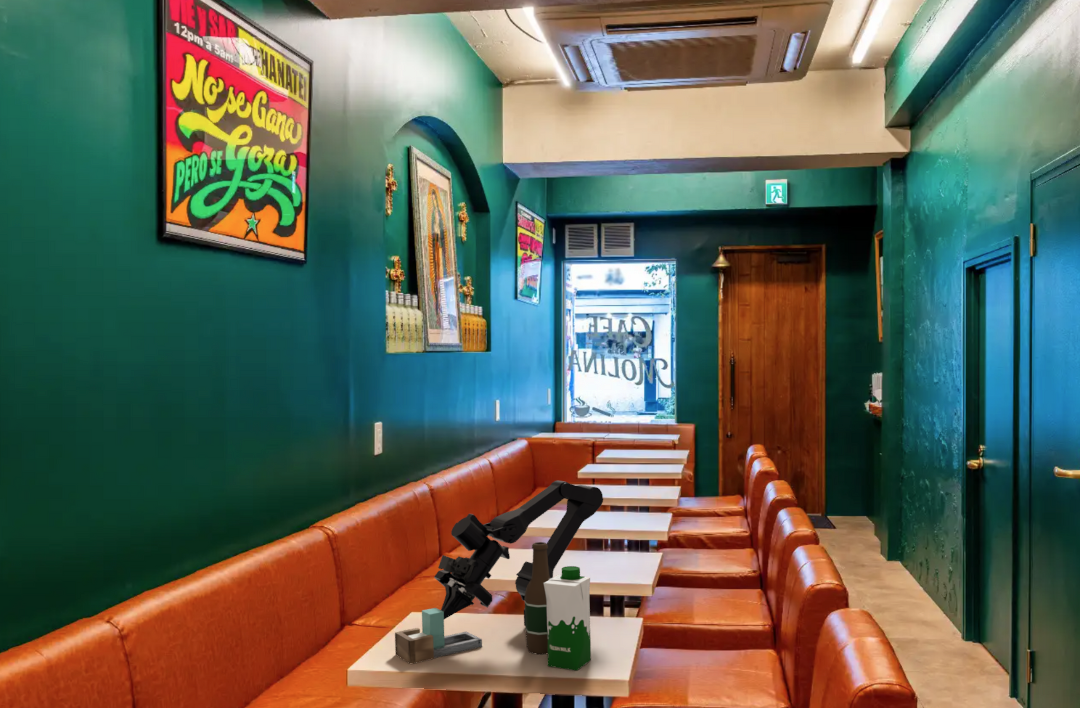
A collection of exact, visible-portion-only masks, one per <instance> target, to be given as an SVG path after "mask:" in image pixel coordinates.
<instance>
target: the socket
mask: <svg viewBox="0 0 1080 708" xmlns="http://www.w3.org/2000/svg"><path fill="white" fill-rule="evenodd" d="M418 633H421V629H420V628H419V627H415V628H410V629H405V630H400V631H394V645H395V655H396V656H397V655H398V656H399V658H400V657H401V658H400V659H402V660H403V659H404V661H405V662H407V663H408V662H409V663H408V664H410V663H413V664H417V663H421V661H422V662H426V661H429V660H433V659H435V658H434V650H433V636H432V635H427V636H423V637H418V638H413V639H412V638H411V637H409V635H413V634H418ZM398 656H397V657H398ZM416 662H417V663H416Z"/></svg>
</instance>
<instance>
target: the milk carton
mask: <svg viewBox="0 0 1080 708" xmlns="http://www.w3.org/2000/svg"><path fill="white" fill-rule="evenodd" d="M590 587H591V577H587V576H582V575H581V568H580V567H579V566H574V565H571V566H570V565H569V566H568V565H567V566H563V567H562V568H561V574H558V575H556V576H553V578H551V579H549V580H548V581H547V582H545V583H544V588H545V594H546V600H547V634H548V654H547V667H551V668H557V669H562V670H563V669H565V670H569V671H570V670H571V671H579V670H580V669H582V667H584V666H585V665H586V664H588V663H589V662H591V659H592V658H591V653H592V652H591V649H592V647H591V646H592V642H591V641H592V640H591V639H592V638H591V612H590V611H591V609H590V593H591V592H590Z"/></svg>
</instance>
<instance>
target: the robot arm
mask: <svg viewBox="0 0 1080 708" xmlns="http://www.w3.org/2000/svg"><path fill="white" fill-rule="evenodd" d="M563 500H566V510H565V511H566V512H565V513H564V515H563V517H562V518H561V520H560V522H558V525H557V526H556V528H555V529H554V531H553V533H552V534H551V536H550V537H549V539H548V540H547V542H546V544H547V546H548V549H547V557H548V569H549V575H550V579H551V578H553V577H554V570H555V568H556V567H557V565H558V564H559V562H560V560H561V559H562V557H563V556H564V554H565V552H566V550H567V549H568V547H569V545H570V544H571V542H572V541H573V539H574V537H575V536H576V534H577V532H578V530H579V529H580V527H581V526H582V524H583V523H584V522H585V521H586V520H588V519H589V518H591V517H592V516H593V515H595V514H596V513H597V511H598V510H599V509H600V508H601V506H602V505H603V503H604V496H603V492H602V490H601V489H600V488H599V487H596V486H592V485H584V484H577V485H575V484H571V483H569V482H567V481H563V480H554V481H553V482H551V483H550V485H549V486H547V487H546V488H545V489H543V490H542V491H541V492H538V494H536V495H535V496H533V497H532V498H530V499H529V500H528V501H526V502H525V503H524V504H522V505H521V506H520V507H518V508H516V509H514V510H511V511H507V512H504V513H502V514H500V515H498V516H494V518H493V519H491V521H490V522H487V523H484V524H483V523H482V522H481V521H480V520H479V519H478V517H477V516H476V515H475V514H473V513H468V514H467V516H464V517H463V518H461V519H460V520H459V521H457V522H455V524H454V525H453V527H452V528H451V531H450V532H451V536H452V537H453V538H454V539H455V540H456V541H457V542H459V543H460V544H461V545H462V547H464V548H465V549H466V550H467V551H469V552H470V551H473V553H471V555H470V557H462V556H459V555H458V556H457V557H456V558H453V557H449V556H447V555H444V554H442V556H441V558H440V561H439V563H438V567H437V568H438V571H437V572H436V574H435V575H434V577H433V578H434V579H435V580H436V581H438V583H439V584H440V585H442V586H443V587H444V589H445V597H444V601H443V603H442V606H441V608H440V610H441V611H443V612H444V620H446V619H447V618H448V619H449V617H451V616H453V615H455V614H456V613H458V612H460V611H461V610H464V609H466V608H467V607H469V606H473V605H475V603H474V602H473V601H474V600H475V598H476V599H477V600H479V602H480V603H479V604H480V606H483V607H485V608H489V607H490V605H491V603H492V602H493V595H492V594H491V592H490V591H488V590H487V589H486V588H485V587H484V586H483V585H482V583H483V582H484V580H485V579H488V580H489V579H490V578H491V577H492V574H491V573H490V572H491V570H492V569H493V568H494V566H495V565H496V563H497V562H498V560H500V558H504V559H506V560H510V558H511V557H510V552H509V549H510V548H509V547H508V546H506V545H501V544H500V543H499V542H503V543H506V544H510V545H511V544H515V543H516V542H517V541H519V539H521V537H523V535H524V534H526V532H527V530H528V527H529V526H530V525H531V524H532V523H533V522H534V521H536V520H537V519H538V518H539V517H541V516H543V515H544V514H545V513H546V512H548V511H549V510H551V509H552V508H554V507H555V506H556V505H557V504H559V503H560V502H561V501H563ZM489 537H491V538H492V539H491V538H489ZM498 541H499V542H498ZM439 569H440V570H439ZM532 570H533V561H532V562H530V561H527V560H526V561H525V562H524V563H523V564H522V565H521V569H520V570H519V571H518V572H517V573H515V574H516V576H517V577H516V579H515V581H514V584H515V589H516V591H517V593H518V594H519V595H520V597H521V600H522V601H524V602H525V591H526V588H527V585H528V583H529V582H530V580H531V578H532ZM523 626H524V627H525V608H524V609H523ZM524 632H526V627H525V628H524Z"/></svg>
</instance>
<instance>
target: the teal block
mask: <svg viewBox="0 0 1080 708" xmlns="http://www.w3.org/2000/svg"><path fill="white" fill-rule="evenodd" d="M421 630H422V631H421V632H420V633H418V634H413V635H409V637H411V638H412V639H413V638H418V637H423V636H427V635H432V636H433V648H437V647H441V646H445V642H444V636H445V619H444V612H443V611H441V609H439V608H437V607H433V608H428V609H422V610H421Z"/></svg>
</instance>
